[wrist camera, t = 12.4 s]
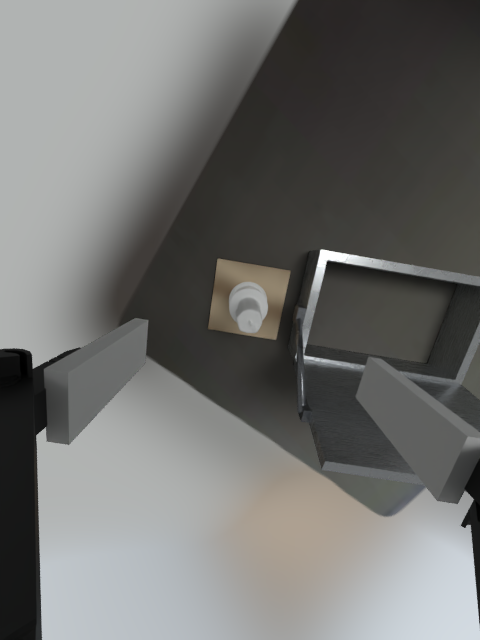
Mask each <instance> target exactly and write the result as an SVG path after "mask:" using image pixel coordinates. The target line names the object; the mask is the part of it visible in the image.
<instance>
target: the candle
mask: <svg viewBox="0 0 480 640" xmlns="http://www.w3.org/2000/svg"><path fill="white" fill-rule="evenodd" d="M229 311H230V314H231V317H232V318H233V319H234V321H235V322H237V324H238V328H239V330H240V331H242V332H245V333H257V332H258V330H259V329H260V327H261V325H262V321H263V319H264V318H265V317H266V314H267V311H268V303H267V296H266V293H265V291H264V290H263V288H262V287H261V286H259V285H258V284H256V283H253V282H243V283H240V284H238V285H237V286H235V287H234V288H233V290H232V291H231V293H230V296H229Z"/></svg>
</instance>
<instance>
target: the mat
mask: <svg viewBox="0 0 480 640" xmlns="http://www.w3.org/2000/svg"><path fill="white" fill-rule="evenodd" d="M290 272H291V271H288V270H283V269H277V268H271V267H265V266H259V265H253V264H247V263H241V262H235V261H230V260H224V259H218V260H217V267H216V274H215V282H214V289H213V296H212V303H211V311H210V318H209V325H208V329H211V330H218V331H224V332H230V333H236V334H242V335H248V336H254V337H261V338H267V339H273V340H276V338H277V333H278V328H279V324H280V319H281V314H282V310H283V305H284V300H285V295H286V291H287V286H288V281H289V277H290ZM243 282H253V283H256V284H258V285H259V286H261V287H262V288H263V290H264V291H265V293H266V296H267V303H268V311H267V314H266V317H265V318H264V319H263V321H262V325H261V327H260V329H259V330H258V332H257V333H245V332H242V331H240V330H239V328H238V324H237V322H235V321H234V319H233V318H232V317H231V314H230V311H229V296H230V293H231V291H232V290H233V288H234V287H235V286H237V285H238V284H240V283H243Z"/></svg>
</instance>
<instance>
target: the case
mask: <svg viewBox="0 0 480 640" xmlns="http://www.w3.org/2000/svg"><path fill="white" fill-rule="evenodd" d="M327 262H332V263H338V264H344V265H349V266H355V267H361V268H367V269H373V270H379V271H384V272H390V273H396V274H402V275H408V276H414V277H419V278H425V279H431V280H437V281H443V282H449V283H454V284H458V285H457V288H456V290H455V293H454V295H453V298H452V301H451V303H450V306H449V308H448V311H447V313H446V316H445V319H444V321H443V324H442V326H441V329H440V332H439V334H438V337H437V339H436V342H435V344H434V347H433V350H432V352H431V355H430V357H429V360H428V363H427V364H425V363H419V362H413V361H407V360H401V359H395V358H389V357H382V356H376V355H370V354H364V353H358V352H352V351H346V350H339V349H333V348H327V347H321V346H315V345H309V344H307V340H308V336H309V332H310V328H311V324H312V320H313V316H314V312H315V308H316V304H317V300H318V296H319V292H320V288H321V284H322V279H323V275H324V271H325V267H326V263H327ZM292 320H293V321H294V322H293V326H292V330H291V335H290V339H289V343H288V350H289V352H290V354H291V356H292V358H293V365H294V369H295V373H296V376H297V401H298V414H299V417H300V420H301V421H302V422H308V423H309V425H310V429H311V432H312V436H313V440H314V444H315V447H316V451H317V455H318V459H319V462H320V466H321V470H327V471H334V472H340V473H347V474H354V475H360V476H367V477H374V478H380V479H387V480H393V481H400V482H407V483H413V484H420V485H424V484H423V482H422V481H421V480H420V478H419V477H418V476H417V475H416V473H415V472H414V471H413V470H412V468H411V467H410V466H409V465H408V463H407V462H406V461H405V459H404V458H403V457H402V456H401V454H400V453H399V452H398V451H397V449H396V448H395V447H394V446H393V444H392V443H391V442H390V440H389V439H388V438H387V437H386V435H385V434H384V433H383V432H382V430H381V429H380V428H379V426H378V425H377V424H376V423H375V421H374V420H373V419H372V418H371V416H370V415H369V414H368V413H367V411H366V410H365V409H364V407H363V406H362V405H361V404H360V402H359V401H358V400H357V399H356V394H357V391H358V388H359V385H360V382H361V378H362V375H363V372H364V369H365V366H366V363H367V360H368V357H374V358H380V359H382V360H384V361H385V362H386V363H388V364H389V365H390V366H392V367H393V368H394V369H396V370H397V371H398V372H400V373H401V374H402V375H404V376H405V377H406V378H408V379H409V380H410V381H412V382H413V383H415V384H416V385H417V386H419V387H420V388H421V389H423V390H424V391H425V392H427V393H428V394H429V395H431V396H432V397H433V398H435V399H436V400H437V401H439V402H440V403H441V404H443V405H444V406H445V407H447V408H448V409H449V410H451V411H452V412H453V413H455V414H456V415H457V416H459V417H460V418H461V419H463V420H464V421H465V422H467V423H468V424H470V425H471V426H472V427H474V428H475V429H476V430H478V431H479V432H480V400H479V399H478V398H477V397H476V396H474V395H473V394H472V393H471V392H470V391H468V390H467V389H466V388H465V387H463V386H462V385H461V384H462V381H463V379H464V377H465V374H466V372H467V370H468V368H469V365H470V363H471V361H472V358H473V356H474V354H475V351H476V349H477V347H478V345H479V342H480V277H477V276H471V275H465V274H460V273H454V272H448V271H442V270H436V269H431V268H425V267H419V266H413V265H407V264H402V263H396V262H390V261H384V260H378V259H373V258H367V257H361V256H355V255H349V254H344V253H338V252H332V251H326V250H312V251H309V256H308V260H307V264H306V269H305V273H304V278H303V282H302V286H301V291H300V295H299V300H298V304H297V305H296V304H295V308H294V313H293V317H292ZM465 491H466V490H465Z"/></svg>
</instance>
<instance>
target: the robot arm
mask: <svg viewBox="0 0 480 640" xmlns="http://www.w3.org/2000/svg"><path fill="white" fill-rule="evenodd" d="M147 332H148V320H144V319H138V318H134V319H133V320H131V321H129V322H127V323H125V324H124V325H122V326H120V327H118V328H116V329H115V330H113V331H111V332H109V333H107V334H106V335H104V336H102V337H100V338H98V339H97V340H95V341H93V342H91V343H90V344H88V345H86V346H84V347H82V348H76V349H73V350H69V351H66V352H64V353H62V354H60V355H59V356H57V357H55V358H53V359H51V360H49V362H45V363H43V364H41V365H40V366H38V367H36V368H34V369H33V368H32V354H31V353H30V351H27V350H24V349H0V640H42V631H41V594H40V556H39V555H40V554H39V520H38V519H39V518H38V483H37V482H38V481H37V444H36V435H37V434H38V433H39V432H41V431H42V430H43V429H44V428H45V427H46V436H47V441H48V442H54V443H61V444H68V445H69V444H70V443H71V442H72V441H73V440H74V439H75V438H76V436H78V435H79V433H80V432H81V431H82V430H83V429H84V428H85V427H86V426H87V425H88V424H89V423H90V422H91V421H92V420H93V419H94V418H95V416H96V415H97V414H98V413H99V412H100V411H101V410H102V409H103V408H104V407H105V406H106V405H107V403H108V402H110V400H111V399H112V398H113V397H114V396H115V395H116V394H117V393H118V392H119V391H120V390H121V389H122V388H123V386H124V385H125V384H126V383H127V382H128V381H129V380H130V379H131V378H132V377H133V376H134V375H135V374H136V373H137V372H138V371H139V369H140V368H141V367H142V366H143V365H144V364H145V359H146V346H147ZM356 399H357V400H358V401H359V402H360V404H361V405H362V406H363V407H364V409H365V410H366V411H367V413H368V414H369V415H370V416H371V418H372V419H373V420H374V421H375V423H376V424H377V425H378V426H379V428H380V429H381V430H382V432H383V433H384V434H385V435H386V437H387V438H388V439H389V440H390V442H391V443H392V444H393V446H394V447H395V448H396V449H397V451H398V452H399V453H400V454H401V456H402V457H403V458H404V459H405V461H406V462H407V463H408V465H409V466H410V467H411V468H412V470H413V471H414V472H415V473H416V475H417V476H418V477H419V478H420V480H421V481H422V482H423V484H424V485H425V486H426V487H427V489H428V490H429V491H430V492H431V493H432V495H433V496H434V497H435V499H436V500H437V501H442V502H448V503H455V504H458V502H459V500H460V498H461V497H462V495H463V493H464V491H465V490H466V491H467V492H468V493H469V494H470V496H471V497H473V499H474V501H473V503H472V505H471V507H470V509H469V510H468V513H467V514H466V516H465V518H464V520H463V522H462V524H461V526H462V527H464V528H465V527H466V525H471V530H472V531H471V532H472V542H473V553H474V565H475V577H476V588H477V600H478V611H479V623H480V432H479V431H478V430H476V429H475V428H474V427H472V426H471V425H470V424H468V423H467V422H465V421H464V420H463V419H461V418H460V417H459V416H457V415H456V414H455V413H453V412H452V411H451V410H449V409H448V408H447V407H445V406H444V405H443V404H441V403H440V402H439V401H437V400H436V399H435V398H433V397H432V396H431V395H429V394H428V393H427V392H425V391H424V390H423V389H421V388H420V387H419V386H417V385H416V384H415V383H413V382H412V381H410V380H409V379H408V378H406V377H405V376H404V375H402V374H401V373H400V372H398V371H397V370H396V369H394V368H393V367H392V366H390V365H389V364H388V363H386V362H385V361H384V360H382V359H380V358H374V357H368V360H367V363H366V366H365V369H364V372H363V375H362V378H361V382H360V385H359V388H358V391H357V394H356Z"/></svg>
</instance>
